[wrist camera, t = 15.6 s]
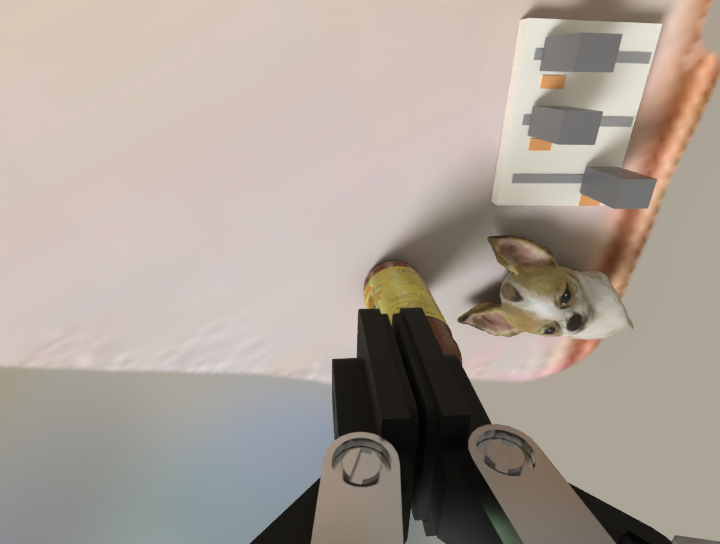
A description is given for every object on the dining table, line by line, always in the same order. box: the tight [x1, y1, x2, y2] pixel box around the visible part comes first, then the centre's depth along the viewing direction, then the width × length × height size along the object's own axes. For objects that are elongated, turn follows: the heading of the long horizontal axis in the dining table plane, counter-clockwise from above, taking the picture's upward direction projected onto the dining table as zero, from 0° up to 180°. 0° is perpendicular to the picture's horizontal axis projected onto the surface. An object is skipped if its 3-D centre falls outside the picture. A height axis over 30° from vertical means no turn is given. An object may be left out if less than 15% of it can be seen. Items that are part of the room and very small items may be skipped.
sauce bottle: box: [364, 261, 462, 365], centre depth 35 cm, size 6×6×20 cm
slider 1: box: [539, 32, 623, 73], centre depth 32 cm, size 2×3×5 cm
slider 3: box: [579, 166, 657, 209], centre depth 37 cm, size 2×3×5 cm
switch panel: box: [491, 18, 662, 206], centre depth 38 cm, size 15×11×2 cm
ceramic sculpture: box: [457, 235, 633, 340], centre depth 42 cm, size 11×9×15 cm
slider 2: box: [528, 106, 603, 145], centre depth 34 cm, size 2×3×5 cm
